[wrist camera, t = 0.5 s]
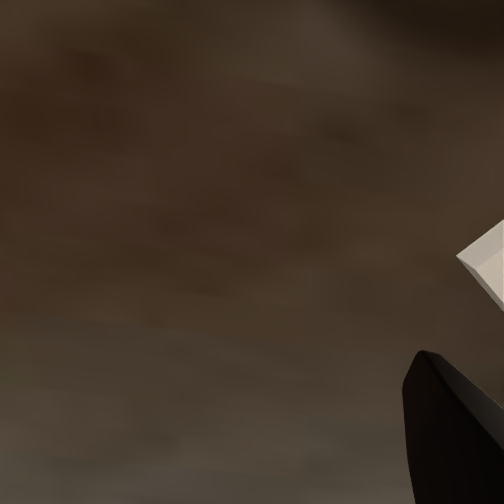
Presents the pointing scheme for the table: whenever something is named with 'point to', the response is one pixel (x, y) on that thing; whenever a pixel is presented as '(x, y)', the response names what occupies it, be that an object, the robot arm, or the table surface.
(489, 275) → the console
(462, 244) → the table surface
